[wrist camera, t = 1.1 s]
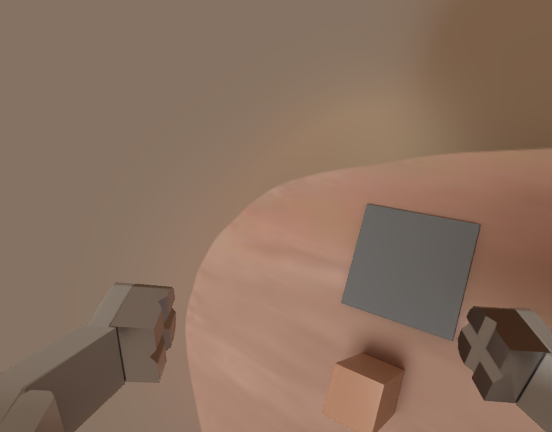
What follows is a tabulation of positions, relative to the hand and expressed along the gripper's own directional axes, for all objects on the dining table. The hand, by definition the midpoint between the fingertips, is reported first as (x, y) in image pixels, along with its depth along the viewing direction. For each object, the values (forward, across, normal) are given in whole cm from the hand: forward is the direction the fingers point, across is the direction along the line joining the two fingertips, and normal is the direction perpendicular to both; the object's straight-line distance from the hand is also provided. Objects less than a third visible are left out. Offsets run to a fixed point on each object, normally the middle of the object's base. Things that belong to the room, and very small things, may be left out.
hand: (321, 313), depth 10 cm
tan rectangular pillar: (+24, -14, +32) cm, 42 cm away
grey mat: (+32, -17, +20) cm, 41 cm away
